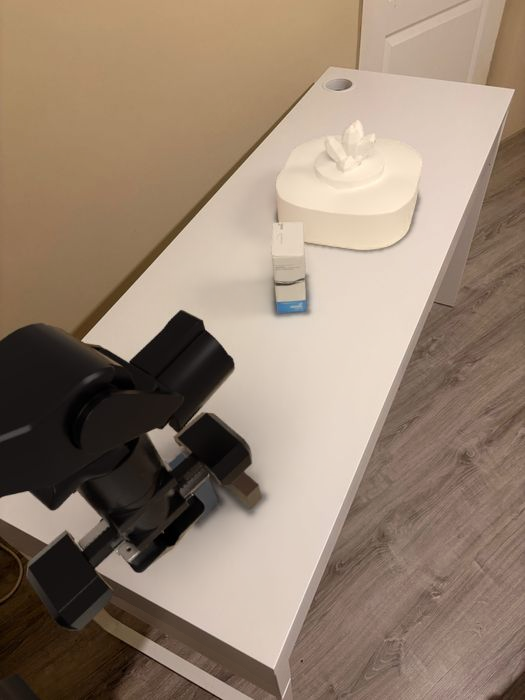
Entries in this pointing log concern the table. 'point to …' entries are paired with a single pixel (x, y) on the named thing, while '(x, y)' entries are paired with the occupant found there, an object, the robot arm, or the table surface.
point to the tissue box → (350, 189)
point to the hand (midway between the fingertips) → (171, 542)
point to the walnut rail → (246, 490)
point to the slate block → (200, 489)
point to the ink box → (289, 266)
